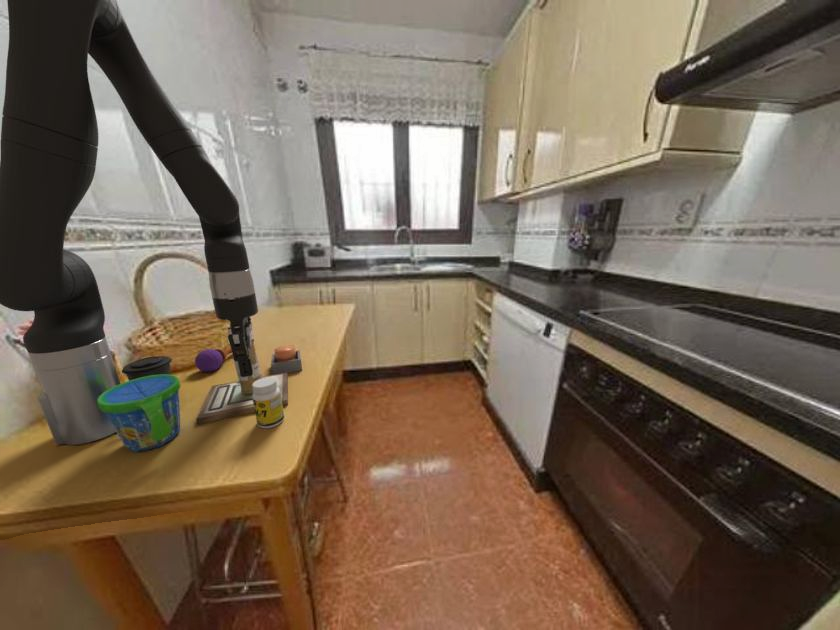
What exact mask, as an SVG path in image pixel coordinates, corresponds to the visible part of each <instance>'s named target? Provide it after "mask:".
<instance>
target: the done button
mask: <svg viewBox="0 0 840 630" xmlns="http://www.w3.org/2000/svg"><path fill="white" fill-rule="evenodd" d="M296 351H297V350H296V346H294V345H282V346H278V347H276V348H275V349H274V354H275V358H276V360H277V362H283V361H289V360H295V356H296Z"/></svg>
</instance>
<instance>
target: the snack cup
mask: <svg viewBox="0 0 840 630" xmlns="http://www.w3.org/2000/svg"><path fill="white" fill-rule="evenodd" d="M180 389H181V382H180V378H179V377H178V376H176V375H173V374H171V375H169V374H160V375H151V376H146V377H141V378H137V379H134V380H130V381H129V380H128V381H124V382H122V383H121V384H119V385H117V386H114V387H112V388H110V389H108V390H107V391H105V392H104V393H102V394H101V395H100V396H99V397H98V399H97V403H98V406H99V409H100V410H101V411H103V412H104V413H106V415H107V417H108V419H109V421H110V422H111V424H112V425H113V427H114V429H115V430H116V432H115V433H116V434H117V435H118V437H119V439H120V441H121V442H122V443H123V445H124V446H125V448H126V449H128V450H130V451H132V452H134V453H137V452H138V453H139V452H140V451H147V450H151V449H155V448H158V447H162V446H163V445H165V444H166V443H168V442H170V441H171V440H172V439H174V438H175V437H176V436H177V435H178V434H179V433H180V432H181V412H180V410H181V409H180V395H179V391H180Z"/></svg>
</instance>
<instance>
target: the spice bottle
mask: <svg viewBox="0 0 840 630" xmlns="http://www.w3.org/2000/svg"><path fill="white" fill-rule="evenodd" d="M252 332H253V329H252V330H251V333H250V336H251V344H252V346H251V347H250V348H249V350H250V355H251V357H250V359H251V364H252V370H253V374H252V375H251V376H247V377H241V375H240V370H239V365H238V361H234V360H233V362H234V366H235V370H236V374H237V378H238V379H239V382H240V386H241V392H242V393H243V394H252V393H254V392H253V386H252V384H253V383H254V382H255V381H257V380H259V379H262V378H261V374H262V373H261V368H260V364H259V360H258V356H257V352H256V348H255V347H256V346H255V343H254V342H253V339H255V337H254V332H253V333H252ZM228 335H229V334H227V336H228ZM227 341H228V343H229V344H230V342H229V339H228V338H227ZM246 343H247V341H246ZM239 354H244V351H239ZM238 379H237V380H238Z"/></svg>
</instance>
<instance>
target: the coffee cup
mask: <svg viewBox="0 0 840 630" xmlns="http://www.w3.org/2000/svg"><path fill="white" fill-rule="evenodd" d="M171 363H172V358H171V357H170V356H166V355H157V356H156V355H155V356H154V355H153V356H149V357H148V356H147V357H143V358H139V359H137V360H134V361H132V362H130V363H127V364H126V365H124V366H123V368H122V370H121V373H122V374H125V375H126V377H127V379H128V381H130V380H134V379H137V378H141V377H146V376H151V375H160V374H169V375H172V371H171Z"/></svg>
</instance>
